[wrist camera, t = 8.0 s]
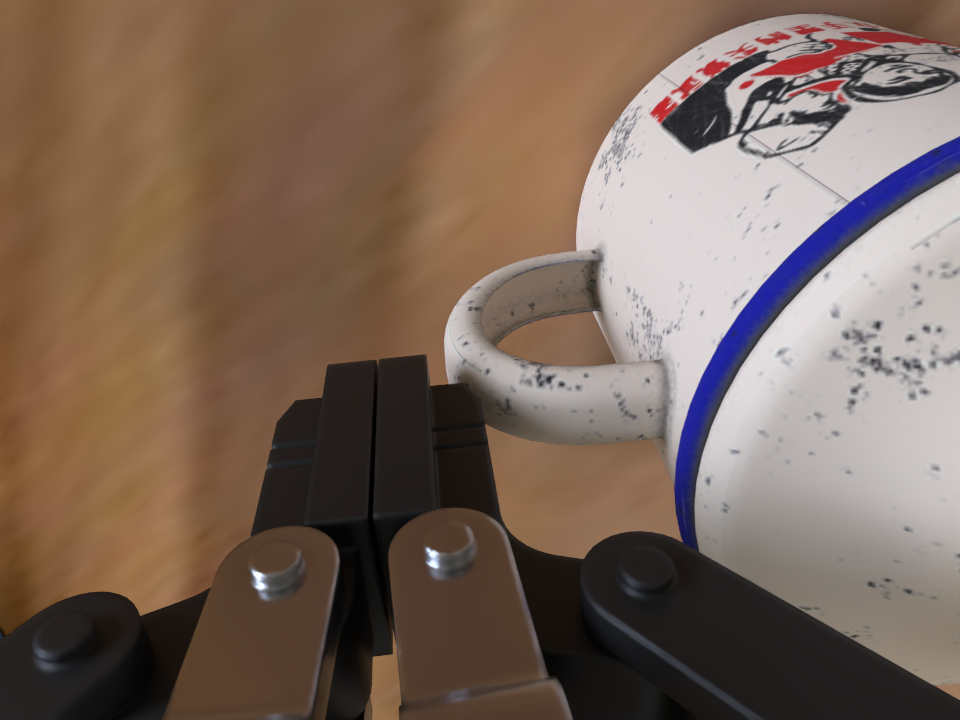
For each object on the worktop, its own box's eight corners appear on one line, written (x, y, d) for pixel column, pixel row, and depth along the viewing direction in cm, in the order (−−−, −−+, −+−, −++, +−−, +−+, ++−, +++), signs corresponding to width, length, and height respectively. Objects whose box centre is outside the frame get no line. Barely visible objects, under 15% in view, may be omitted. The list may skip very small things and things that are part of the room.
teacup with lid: (1012, -14, 15) (2126, 147, 5) (899, 368, 20) (1385, 826, 10) (417, 16, 15) (454, 263, 5) (445, 405, 19) (492, 935, 10)
